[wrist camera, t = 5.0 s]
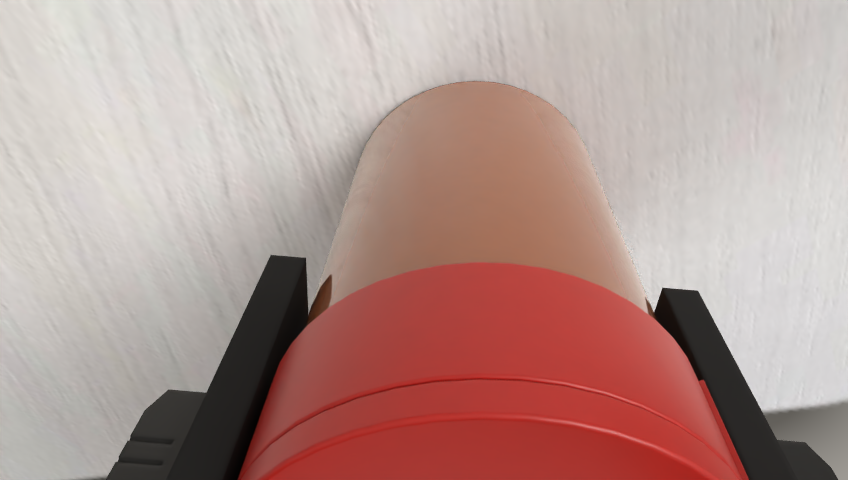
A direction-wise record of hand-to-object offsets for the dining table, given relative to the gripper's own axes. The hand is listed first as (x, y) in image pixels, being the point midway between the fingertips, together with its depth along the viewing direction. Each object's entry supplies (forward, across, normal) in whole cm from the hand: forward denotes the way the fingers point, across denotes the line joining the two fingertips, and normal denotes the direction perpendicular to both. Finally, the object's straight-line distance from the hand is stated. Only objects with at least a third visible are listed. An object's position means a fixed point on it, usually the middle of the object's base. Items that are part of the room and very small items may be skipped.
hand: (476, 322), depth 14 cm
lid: (-6, 0, 0) cm, 6 cm away
